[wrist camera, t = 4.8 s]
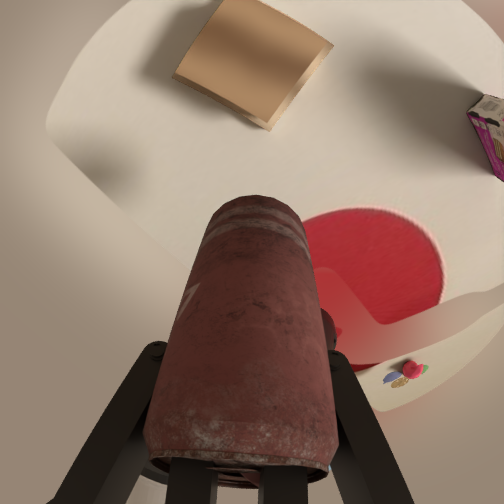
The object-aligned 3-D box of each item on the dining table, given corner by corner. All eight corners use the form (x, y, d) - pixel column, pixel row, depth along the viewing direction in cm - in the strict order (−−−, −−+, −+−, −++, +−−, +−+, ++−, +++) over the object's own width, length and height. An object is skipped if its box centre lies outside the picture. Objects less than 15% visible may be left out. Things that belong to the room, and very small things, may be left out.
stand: (269, 129, 27) (270, 139, 23) (176, 77, 24) (159, 77, 20) (330, 47, 22) (344, 41, 17) (234, -8, 19) (229, -24, 14)
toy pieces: (376, 371, 51) (381, 389, 47) (425, 349, 47) (431, 366, 44) (386, 391, 57) (390, 406, 53) (428, 372, 53) (434, 387, 49)
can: (256, 290, 21) (244, 495, 9) (188, 233, 18) (107, 456, 7) (326, 242, 18) (376, 474, 6) (258, 170, 16) (232, 447, 4)
